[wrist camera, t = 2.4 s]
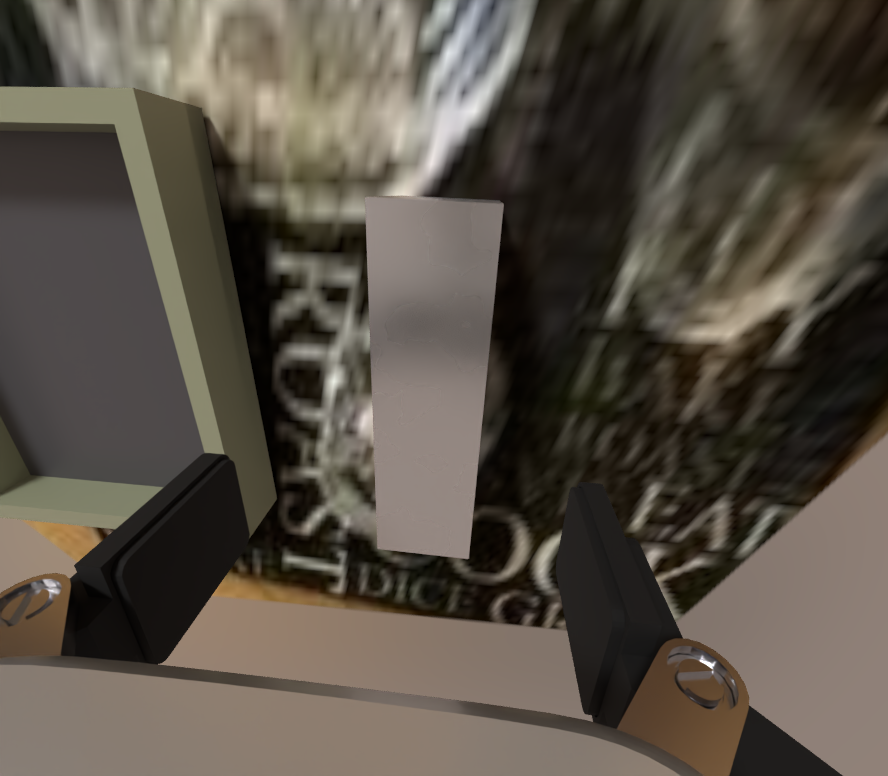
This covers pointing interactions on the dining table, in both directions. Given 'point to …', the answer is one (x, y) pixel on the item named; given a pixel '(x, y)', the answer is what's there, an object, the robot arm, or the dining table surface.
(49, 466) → the case
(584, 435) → the dining table surface
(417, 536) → the bar
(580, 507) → the robot arm
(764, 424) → the dining table surface
